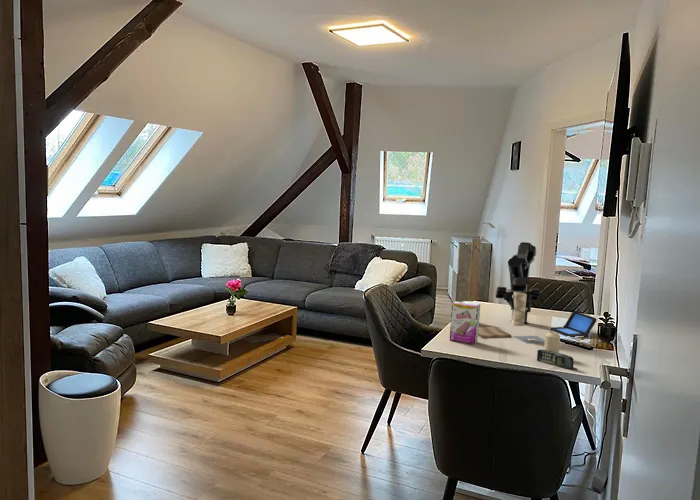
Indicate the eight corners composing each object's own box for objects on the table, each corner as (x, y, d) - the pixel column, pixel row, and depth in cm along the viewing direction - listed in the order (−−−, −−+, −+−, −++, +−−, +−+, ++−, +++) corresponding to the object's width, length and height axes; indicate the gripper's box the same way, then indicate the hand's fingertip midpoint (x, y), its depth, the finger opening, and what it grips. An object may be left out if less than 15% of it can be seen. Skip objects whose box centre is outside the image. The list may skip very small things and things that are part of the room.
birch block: (521, 323, 237) (524, 292, 236) (523, 326, 233) (526, 294, 231) (511, 322, 238) (513, 292, 236) (513, 325, 233) (516, 294, 232)
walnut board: (495, 329, 251) (495, 327, 250) (511, 337, 237) (511, 334, 237) (468, 330, 247) (468, 327, 247) (482, 338, 234) (482, 335, 234)
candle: (541, 354, 213) (543, 329, 212) (554, 354, 213) (556, 330, 212) (547, 358, 207) (549, 333, 206) (561, 358, 208) (563, 333, 207)
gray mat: (536, 336, 242) (536, 335, 242) (552, 343, 230) (552, 343, 230) (512, 336, 239) (512, 336, 239) (527, 344, 227) (527, 343, 227)
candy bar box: (449, 340, 227) (451, 302, 226) (452, 338, 232) (454, 301, 230) (475, 344, 223) (478, 306, 221) (477, 342, 227) (480, 304, 225)
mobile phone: (536, 349, 203) (575, 358, 193) (540, 347, 206) (579, 356, 195) (535, 362, 204) (574, 371, 193) (539, 360, 206) (578, 369, 195)
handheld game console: (548, 330, 255) (550, 311, 254) (571, 329, 259) (573, 310, 258) (571, 339, 240) (573, 319, 239) (595, 338, 244) (597, 318, 243)
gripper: (498, 268, 238) (500, 298, 229) (541, 271, 236) (545, 301, 226) (494, 282, 247) (496, 311, 237) (536, 285, 244) (539, 314, 235)
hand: (519, 309), depth 234 cm, fingers closed on birch block, 5 cm apart
